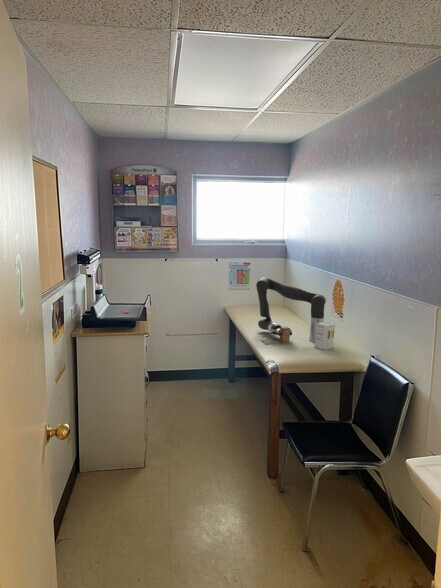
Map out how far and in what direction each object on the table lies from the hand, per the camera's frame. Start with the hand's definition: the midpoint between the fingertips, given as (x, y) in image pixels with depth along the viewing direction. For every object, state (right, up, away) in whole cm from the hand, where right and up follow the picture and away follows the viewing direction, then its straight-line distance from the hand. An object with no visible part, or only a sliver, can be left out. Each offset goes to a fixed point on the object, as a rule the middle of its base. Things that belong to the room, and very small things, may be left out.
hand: (286, 334), depth 304 cm
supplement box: (+25, -9, -5) cm, 27 cm away
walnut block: (-1, -6, +3) cm, 7 cm away
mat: (-11, -6, +2) cm, 13 cm away
